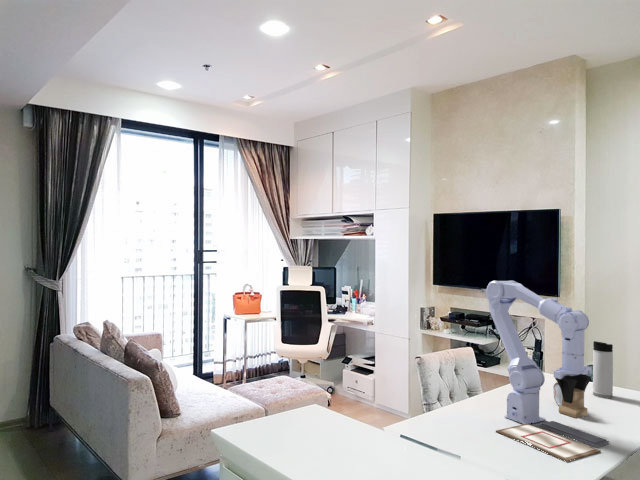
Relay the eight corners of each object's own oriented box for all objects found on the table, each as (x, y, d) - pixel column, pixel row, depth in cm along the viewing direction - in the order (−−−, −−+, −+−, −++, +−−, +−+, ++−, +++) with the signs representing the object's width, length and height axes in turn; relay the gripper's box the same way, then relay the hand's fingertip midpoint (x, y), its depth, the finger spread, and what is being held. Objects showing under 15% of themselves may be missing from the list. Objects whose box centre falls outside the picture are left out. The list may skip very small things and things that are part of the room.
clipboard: (566, 462, 118) (566, 459, 118) (495, 431, 137) (495, 429, 137) (600, 452, 124) (600, 449, 124) (528, 424, 144) (528, 422, 144)
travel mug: (588, 393, 178) (588, 340, 179) (601, 392, 180) (602, 339, 181) (602, 398, 172) (603, 343, 173) (616, 397, 174) (616, 342, 175)
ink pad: (595, 447, 127) (595, 443, 127) (539, 426, 142) (539, 423, 142) (608, 444, 130) (608, 439, 130) (552, 423, 145) (552, 420, 145)
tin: (583, 418, 151) (583, 391, 151) (573, 418, 151) (573, 391, 151) (560, 403, 166) (560, 379, 166) (551, 403, 166) (551, 378, 166)
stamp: (575, 419, 133) (576, 393, 133) (558, 413, 137) (558, 388, 137) (587, 416, 135) (587, 391, 135) (570, 410, 140) (570, 386, 140)
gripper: (570, 358, 130) (569, 408, 129) (602, 354, 137) (601, 401, 136) (547, 353, 136) (546, 401, 135) (578, 349, 143) (578, 395, 142)
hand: (572, 401), depth 136 cm, fingers closed on stamp, 4 cm apart
